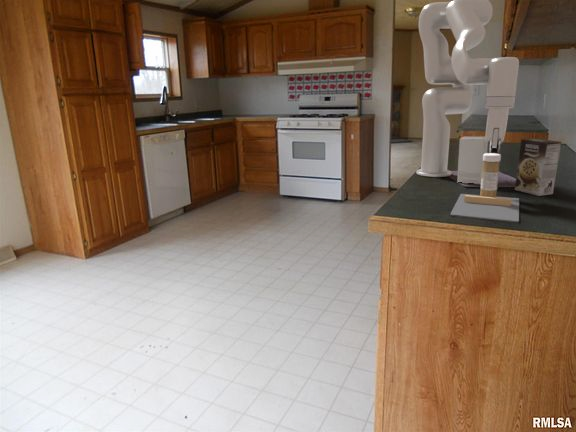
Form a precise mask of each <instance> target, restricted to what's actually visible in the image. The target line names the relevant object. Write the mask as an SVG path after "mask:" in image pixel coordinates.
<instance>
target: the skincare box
mask: <svg viewBox="0 0 576 432" xmlns="http://www.w3.org/2000/svg"><path fill="white" fill-rule="evenodd" d="M458 143H459V147H458V161H457V163H458V164H457V183H458V182H462V183H461V184H468V183H474V184H473V185H481V179H482V170H483V154H486V153H488V145H489V142H487V143H485V136H469V135H468V136H467V135H466V136H465V135H464V136H462V137H460V138H459V142H458ZM458 184H459V183H458Z"/></svg>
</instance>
